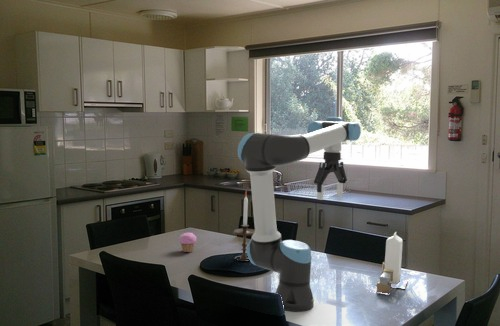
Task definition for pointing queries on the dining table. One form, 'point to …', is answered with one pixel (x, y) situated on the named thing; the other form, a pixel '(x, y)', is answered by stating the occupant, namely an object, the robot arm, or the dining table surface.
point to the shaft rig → (385, 280)
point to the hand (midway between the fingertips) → (329, 198)
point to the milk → (394, 256)
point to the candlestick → (244, 230)
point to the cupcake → (187, 241)
